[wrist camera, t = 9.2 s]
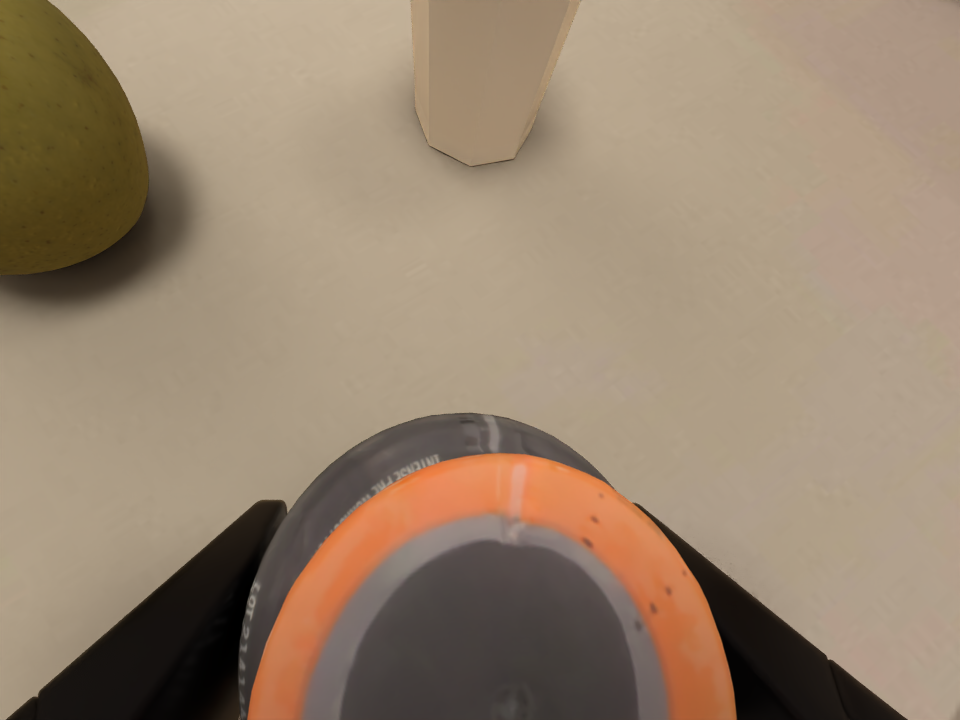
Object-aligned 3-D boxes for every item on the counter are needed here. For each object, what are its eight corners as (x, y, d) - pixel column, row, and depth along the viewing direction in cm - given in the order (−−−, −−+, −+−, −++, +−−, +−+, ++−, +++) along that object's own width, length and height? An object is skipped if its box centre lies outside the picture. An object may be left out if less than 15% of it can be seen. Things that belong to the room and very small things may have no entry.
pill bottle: (555, 619, 14) (1024, 979, 3) (368, 709, 12) (124, 1876, 2) (489, 438, 15) (663, 282, 5) (315, 500, 14) (11, 476, 3)
